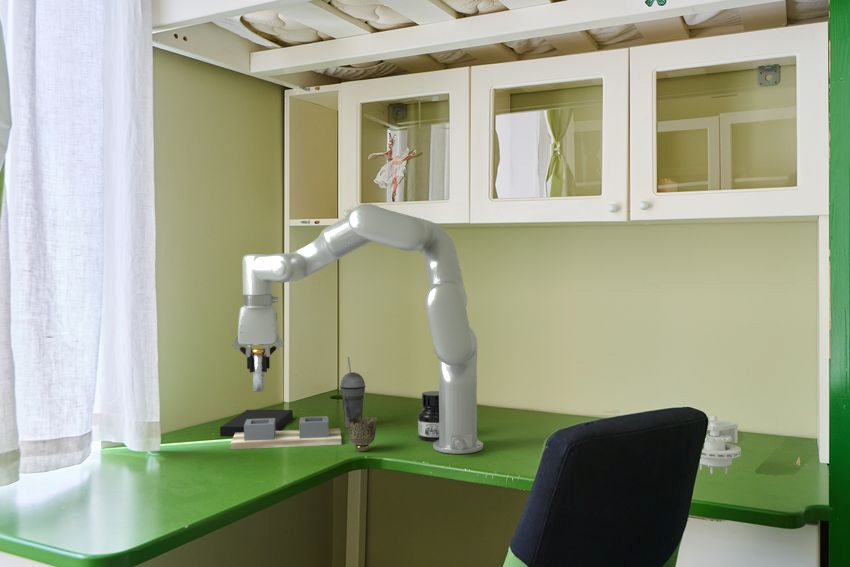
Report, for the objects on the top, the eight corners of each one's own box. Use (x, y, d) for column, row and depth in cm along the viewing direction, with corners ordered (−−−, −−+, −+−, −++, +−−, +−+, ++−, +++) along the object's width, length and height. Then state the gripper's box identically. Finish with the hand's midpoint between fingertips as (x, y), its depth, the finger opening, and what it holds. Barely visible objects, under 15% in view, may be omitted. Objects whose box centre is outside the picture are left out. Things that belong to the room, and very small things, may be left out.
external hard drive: (220, 437, 209) (220, 426, 209) (246, 419, 232) (246, 409, 232) (271, 438, 208) (271, 427, 208) (292, 419, 231) (292, 409, 231)
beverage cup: (364, 429, 215) (363, 358, 214) (338, 429, 215) (337, 358, 215) (367, 424, 222) (366, 355, 222) (342, 424, 223) (341, 355, 222)
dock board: (341, 444, 198) (341, 438, 198) (230, 449, 195) (230, 443, 195) (340, 433, 210) (339, 428, 210) (235, 438, 206) (235, 432, 206)
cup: (372, 454, 188) (372, 422, 188) (343, 453, 189) (343, 421, 189) (380, 447, 195) (380, 416, 195) (352, 446, 197) (352, 415, 196)
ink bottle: (412, 440, 202) (412, 395, 202) (422, 433, 211) (422, 389, 210) (448, 442, 199) (447, 397, 199) (457, 435, 208) (456, 391, 207)
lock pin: (265, 391, 199) (265, 349, 199) (250, 392, 199) (250, 349, 198) (266, 389, 203) (266, 347, 203) (251, 389, 203) (251, 348, 202)
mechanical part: (701, 478, 166) (701, 423, 166) (678, 463, 178) (679, 412, 178) (751, 476, 167) (751, 422, 166) (726, 461, 179) (726, 411, 178)
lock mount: (328, 437, 200) (328, 422, 200) (299, 438, 199) (299, 423, 199) (328, 430, 208) (327, 416, 207) (300, 431, 207) (299, 417, 206)
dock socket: (273, 439, 198) (273, 424, 198) (244, 440, 197) (243, 425, 197) (275, 432, 206) (275, 418, 206) (246, 434, 205) (246, 419, 204)
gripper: (290, 300, 205) (290, 368, 206) (227, 301, 203) (228, 370, 203) (289, 302, 198) (289, 373, 198) (223, 302, 195) (224, 374, 196)
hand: (258, 371), depth 201 cm, fingers closed on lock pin, 3 cm apart
